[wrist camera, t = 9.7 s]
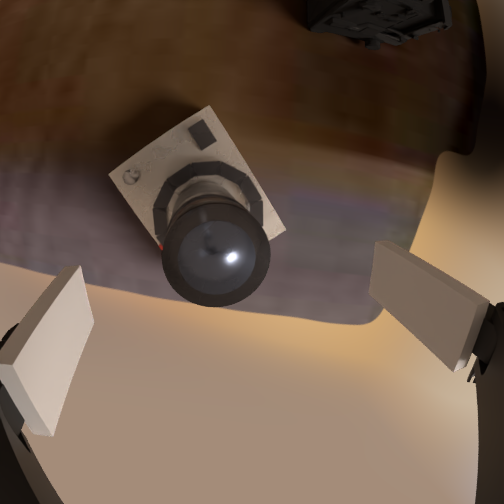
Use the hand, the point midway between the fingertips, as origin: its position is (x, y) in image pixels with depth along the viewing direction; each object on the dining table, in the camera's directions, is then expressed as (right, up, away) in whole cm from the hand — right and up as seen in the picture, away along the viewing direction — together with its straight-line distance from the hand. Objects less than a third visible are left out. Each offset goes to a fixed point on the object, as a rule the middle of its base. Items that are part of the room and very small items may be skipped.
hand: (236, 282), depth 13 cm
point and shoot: (-5, +8, +20) cm, 22 cm away
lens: (-4, +5, +16) cm, 17 cm away
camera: (+13, +31, +16) cm, 37 cm away
